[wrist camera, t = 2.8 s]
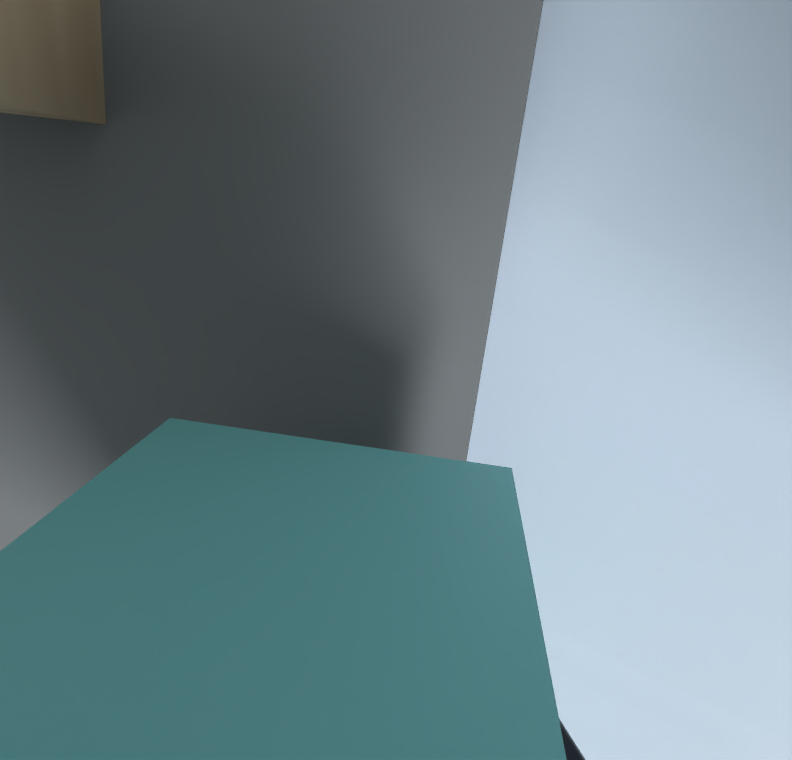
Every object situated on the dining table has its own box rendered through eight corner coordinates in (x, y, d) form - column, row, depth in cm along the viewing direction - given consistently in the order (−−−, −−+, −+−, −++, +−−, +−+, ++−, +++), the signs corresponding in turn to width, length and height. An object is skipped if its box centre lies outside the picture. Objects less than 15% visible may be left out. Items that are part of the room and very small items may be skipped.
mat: (817, -1658, 5) (848, -1820, 4) (428, 677, 13) (427, 692, 12) (-478, -1548, 5) (-549, -1677, 5) (-74, 591, 14) (-90, 602, 13)
